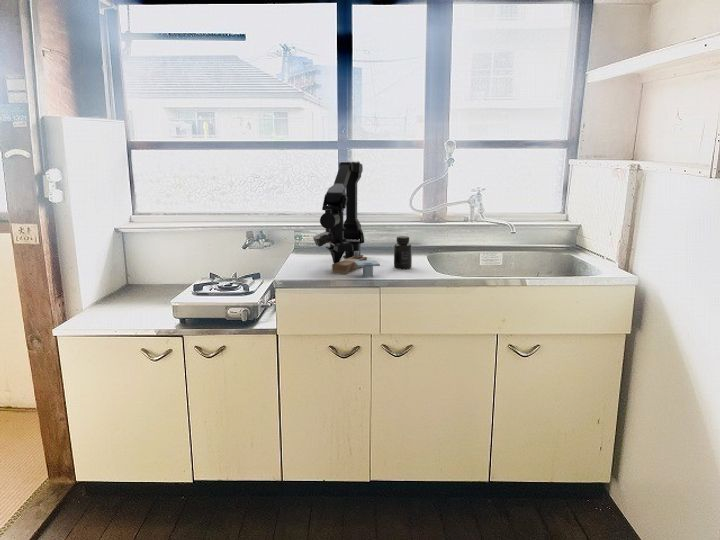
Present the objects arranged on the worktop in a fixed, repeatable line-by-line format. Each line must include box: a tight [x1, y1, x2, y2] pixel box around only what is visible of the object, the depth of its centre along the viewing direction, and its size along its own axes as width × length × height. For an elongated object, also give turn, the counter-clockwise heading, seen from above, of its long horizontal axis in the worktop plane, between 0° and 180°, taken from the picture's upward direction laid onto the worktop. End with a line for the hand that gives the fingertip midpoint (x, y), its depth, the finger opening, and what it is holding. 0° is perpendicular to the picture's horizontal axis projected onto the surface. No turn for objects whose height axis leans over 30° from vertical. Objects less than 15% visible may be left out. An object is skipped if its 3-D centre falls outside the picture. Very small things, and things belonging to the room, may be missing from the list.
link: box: [331, 256, 368, 275], centre depth 201 cm, size 18×6×3 cm, turn 153°
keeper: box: [354, 259, 381, 278], centre depth 191 cm, size 7×8×4 cm
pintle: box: [354, 251, 359, 259], centre depth 207 cm, size 2×2×6 cm
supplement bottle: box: [393, 235, 413, 270], centre depth 202 cm, size 7×7×12 cm
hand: (336, 265), depth 200 cm, fingers closed
